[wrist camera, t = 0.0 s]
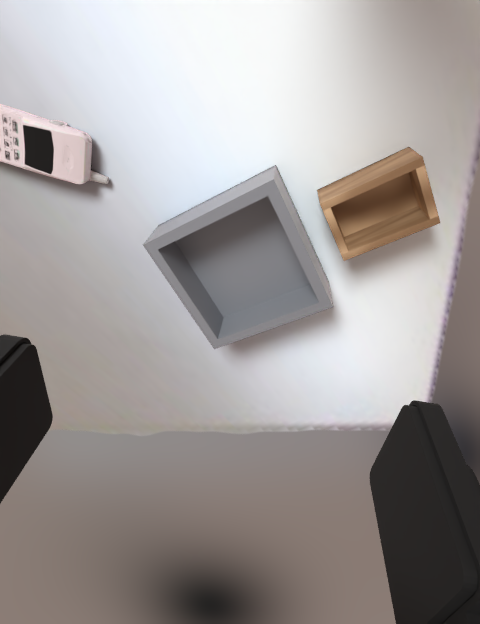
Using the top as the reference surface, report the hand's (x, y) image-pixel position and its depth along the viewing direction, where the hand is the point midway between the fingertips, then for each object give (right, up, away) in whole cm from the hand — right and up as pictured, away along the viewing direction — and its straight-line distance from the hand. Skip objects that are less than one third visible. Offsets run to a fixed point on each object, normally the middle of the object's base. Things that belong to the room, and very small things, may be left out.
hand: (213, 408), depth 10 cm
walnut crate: (+15, +15, +33) cm, 39 cm away
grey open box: (+1, +10, +38) cm, 40 cm away
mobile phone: (-26, +23, +34) cm, 48 cm away
